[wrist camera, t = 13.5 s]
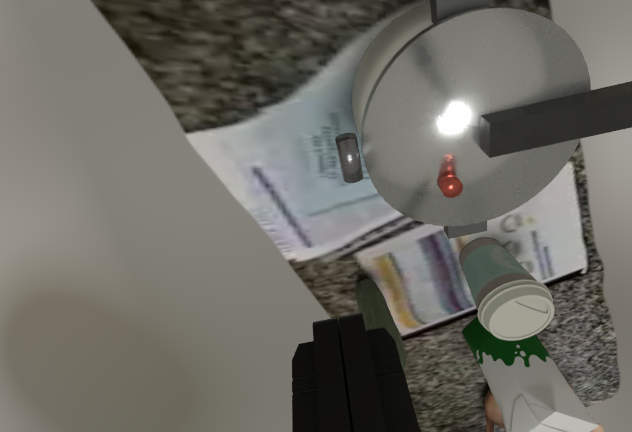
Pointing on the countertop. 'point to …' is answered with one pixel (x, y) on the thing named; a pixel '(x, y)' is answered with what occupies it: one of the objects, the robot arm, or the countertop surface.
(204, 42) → the countertop surface
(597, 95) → the cooker lid
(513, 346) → the milk carton
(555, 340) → the countertop surface
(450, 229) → the cooker pot
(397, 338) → the vegetable
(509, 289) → the coffee cup
